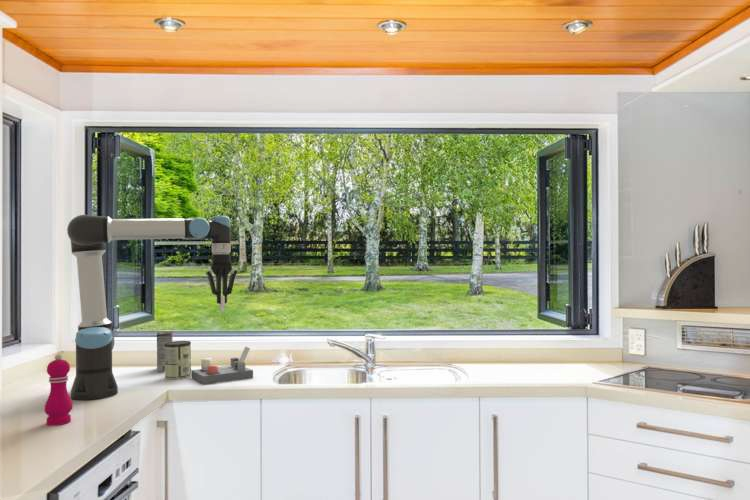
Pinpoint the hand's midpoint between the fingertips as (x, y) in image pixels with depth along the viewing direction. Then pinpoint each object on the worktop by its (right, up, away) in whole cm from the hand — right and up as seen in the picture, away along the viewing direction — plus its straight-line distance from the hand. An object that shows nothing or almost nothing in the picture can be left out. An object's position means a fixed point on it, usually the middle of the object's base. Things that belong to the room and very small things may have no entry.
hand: (222, 311), depth 235 cm
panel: (+1, -26, -3) cm, 27 cm away
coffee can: (-18, -27, 0) cm, 33 cm away
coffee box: (-30, -28, +18) cm, 44 cm away
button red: (-1, -25, -9) cm, 27 cm away
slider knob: (+4, -23, +5) cm, 24 cm away
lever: (+8, -22, -2) cm, 23 cm away
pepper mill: (-31, -26, -66) cm, 77 cm away
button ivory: (-6, -24, -2) cm, 25 cm away
